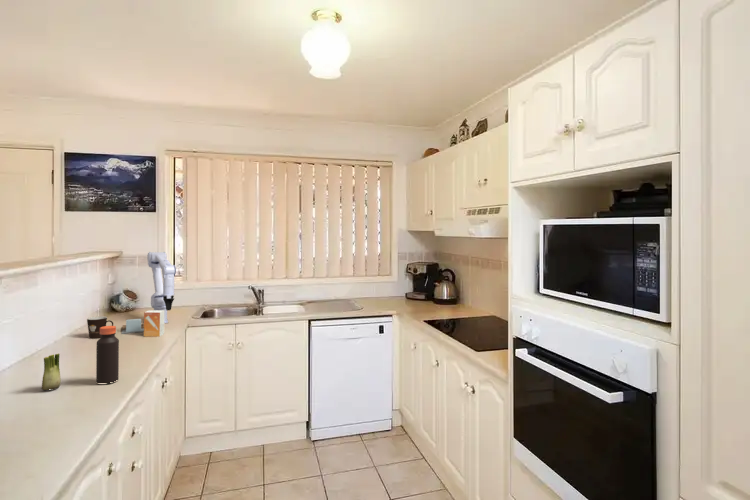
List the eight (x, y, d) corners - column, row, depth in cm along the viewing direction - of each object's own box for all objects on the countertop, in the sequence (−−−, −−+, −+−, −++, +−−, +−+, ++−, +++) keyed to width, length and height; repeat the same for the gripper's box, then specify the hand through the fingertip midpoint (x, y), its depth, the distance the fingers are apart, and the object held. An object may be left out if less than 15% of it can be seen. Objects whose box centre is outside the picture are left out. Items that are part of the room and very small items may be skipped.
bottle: (101, 386, 143) (102, 330, 142) (92, 382, 146) (92, 327, 146) (122, 381, 148) (122, 326, 148) (112, 377, 152) (113, 324, 151)
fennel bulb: (58, 385, 143) (58, 351, 142) (64, 388, 140) (65, 354, 140) (38, 390, 138) (38, 355, 137) (44, 393, 135) (44, 358, 135)
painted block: (126, 330, 223) (126, 319, 223) (141, 329, 226) (141, 318, 226) (126, 331, 220) (126, 320, 219) (140, 330, 223) (141, 319, 223)
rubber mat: (122, 330, 224) (122, 329, 224) (145, 329, 229) (145, 328, 229) (121, 334, 217) (121, 333, 217) (145, 332, 222) (145, 331, 222)
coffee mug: (82, 338, 207) (82, 318, 206) (99, 334, 215) (99, 315, 214) (98, 340, 202) (98, 320, 202) (114, 337, 210) (114, 317, 210)
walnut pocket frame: (122, 327, 232) (123, 325, 232) (147, 325, 238) (147, 323, 238) (121, 330, 224) (121, 328, 224) (146, 328, 230) (146, 326, 230)
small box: (143, 336, 212) (143, 312, 212) (148, 334, 218) (148, 310, 218) (159, 336, 213) (160, 312, 213) (164, 334, 219) (164, 310, 219)
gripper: (160, 284, 240) (160, 307, 240) (160, 287, 227) (160, 311, 227) (174, 284, 243) (173, 306, 243) (174, 287, 230) (174, 311, 230)
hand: (168, 309), depth 235 cm, fingers open, 7 cm apart
